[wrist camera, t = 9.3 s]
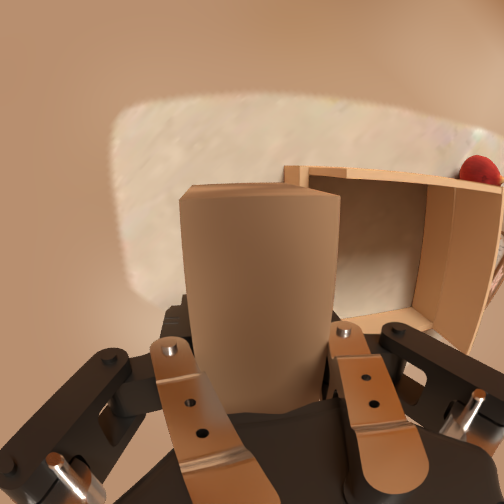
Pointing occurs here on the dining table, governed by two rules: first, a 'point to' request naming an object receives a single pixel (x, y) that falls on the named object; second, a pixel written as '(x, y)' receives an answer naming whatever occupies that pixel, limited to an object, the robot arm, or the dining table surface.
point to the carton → (440, 252)
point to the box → (260, 290)
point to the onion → (481, 171)
